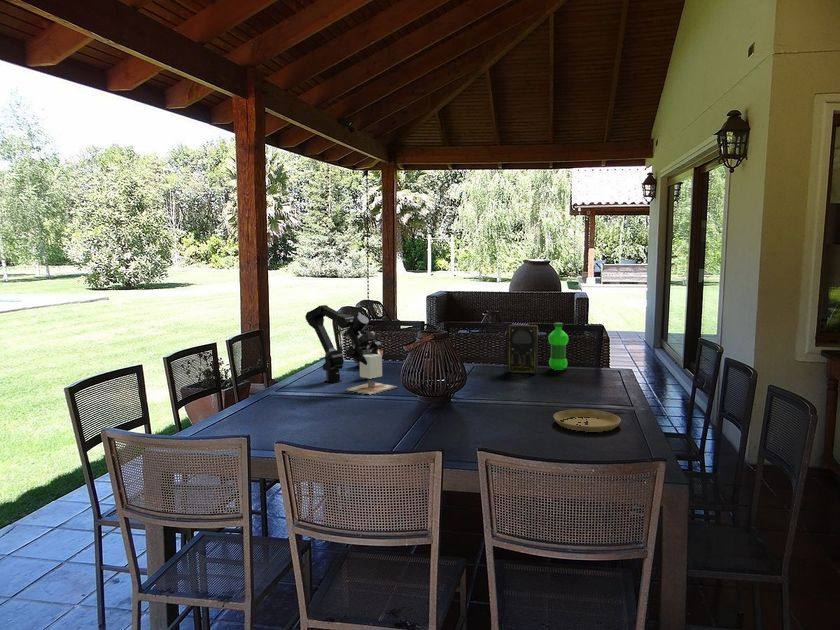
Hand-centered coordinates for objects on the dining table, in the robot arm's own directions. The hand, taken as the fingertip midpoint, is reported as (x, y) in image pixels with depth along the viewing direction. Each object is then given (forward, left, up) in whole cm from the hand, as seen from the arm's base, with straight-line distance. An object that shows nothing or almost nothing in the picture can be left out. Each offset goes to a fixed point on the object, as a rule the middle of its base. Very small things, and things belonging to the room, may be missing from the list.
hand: (372, 362), depth 294 cm
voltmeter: (+35, +76, -13) cm, 85 cm away
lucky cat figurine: (-43, +40, -13) cm, 60 cm away
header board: (-1, 0, -13) cm, 13 cm away
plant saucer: (+104, +7, -13) cm, 105 cm away
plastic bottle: (+46, +93, -13) cm, 105 cm away
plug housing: (-1, 0, -7) cm, 7 cm away
